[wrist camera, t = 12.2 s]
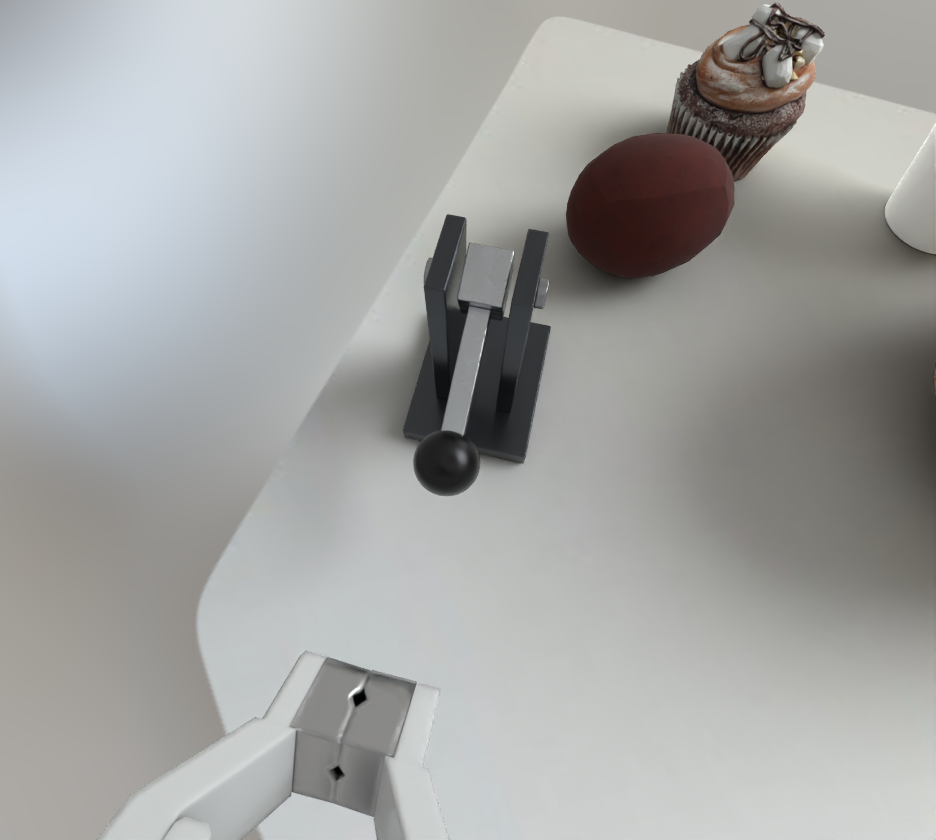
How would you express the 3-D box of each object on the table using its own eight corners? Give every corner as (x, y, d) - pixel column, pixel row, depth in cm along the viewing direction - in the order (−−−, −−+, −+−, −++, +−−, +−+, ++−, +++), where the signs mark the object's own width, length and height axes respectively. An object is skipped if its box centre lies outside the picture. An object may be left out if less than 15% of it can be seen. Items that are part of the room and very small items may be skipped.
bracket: (523, 463, 33) (557, 369, 21) (404, 437, 34) (372, 332, 22) (548, 335, 37) (588, 194, 25) (441, 313, 37) (430, 166, 26)
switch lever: (473, 500, 26) (470, 505, 23) (412, 486, 26) (400, 489, 23) (522, 274, 27) (525, 248, 23) (463, 262, 27) (458, 236, 24)
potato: (542, 222, 41) (563, 113, 32) (683, 201, 42) (740, 90, 33) (571, 311, 38) (603, 216, 29) (724, 286, 39) (798, 187, 30)
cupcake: (686, 97, 47) (741, -35, 37) (785, 144, 45) (869, 16, 35) (633, 156, 44) (679, 29, 34) (736, 209, 42) (814, 88, 32)
